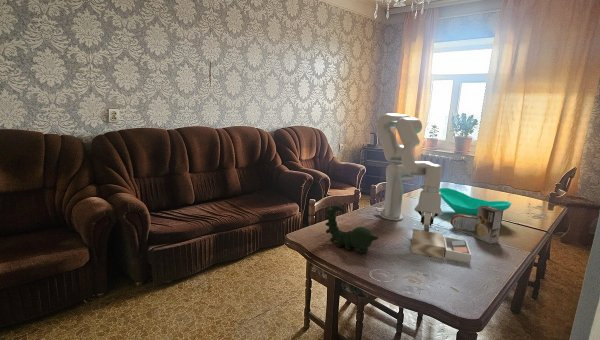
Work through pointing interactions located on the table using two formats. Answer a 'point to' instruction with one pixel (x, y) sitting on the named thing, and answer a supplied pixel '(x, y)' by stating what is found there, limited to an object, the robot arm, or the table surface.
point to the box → (455, 255)
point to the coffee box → (488, 224)
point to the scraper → (427, 221)
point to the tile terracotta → (461, 249)
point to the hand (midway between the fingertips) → (426, 224)
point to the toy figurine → (348, 233)
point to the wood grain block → (428, 243)
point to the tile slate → (458, 244)
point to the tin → (464, 222)
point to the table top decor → (468, 202)
